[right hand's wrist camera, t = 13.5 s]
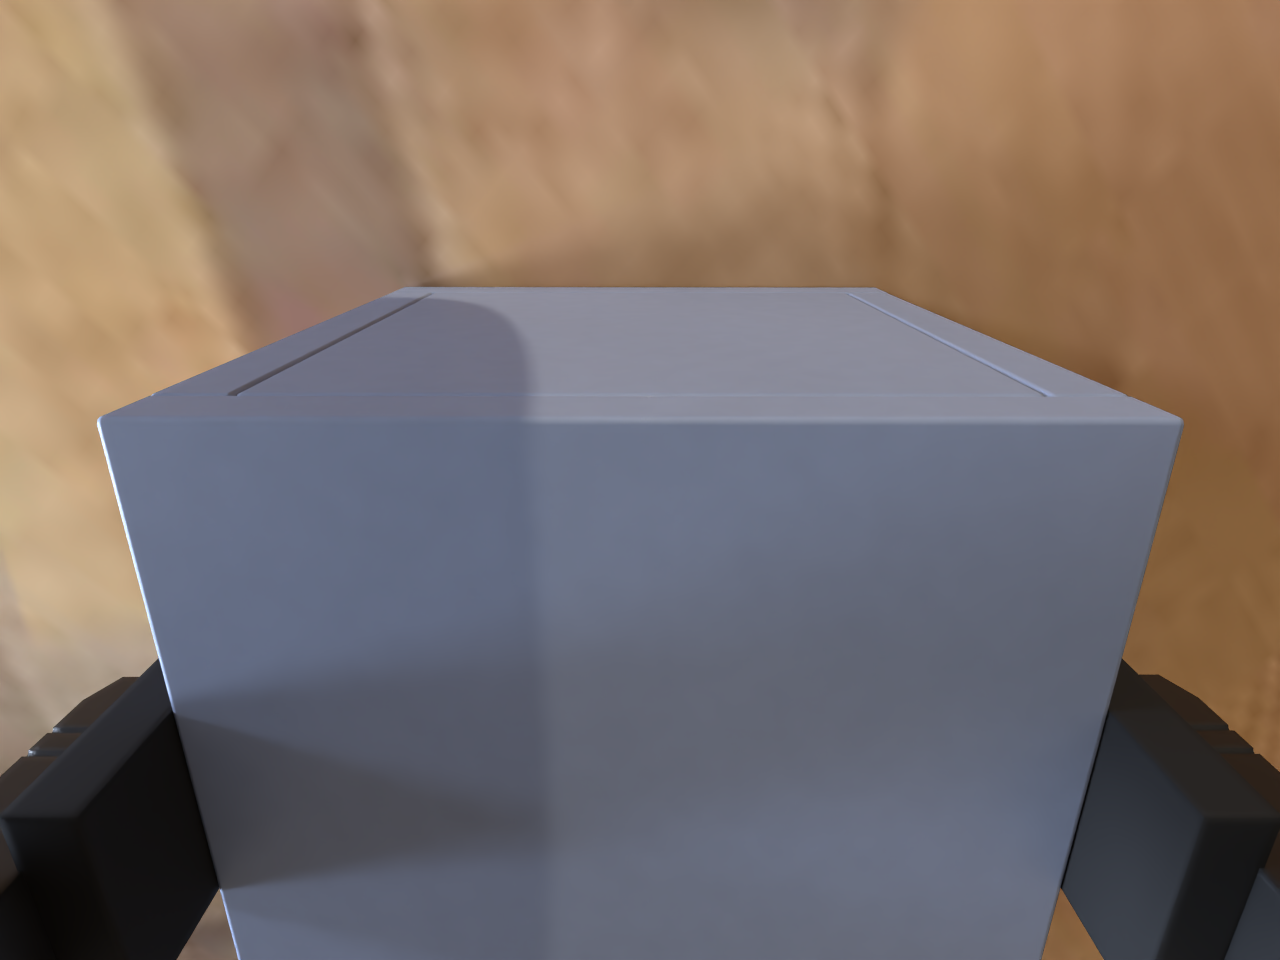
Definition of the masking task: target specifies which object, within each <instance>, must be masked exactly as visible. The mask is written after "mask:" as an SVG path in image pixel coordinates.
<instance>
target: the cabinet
mask: <svg viewBox="0 0 1280 960" xmlns="http://www.w3.org/2000/svg"><path fill="white" fill-rule="evenodd" d="M97 426H98V429H99V433H100V437H101V441H102V444H103V448H104V452H105V456H106V460H107V463H108V467H109V471H110V475H111V479H112V482H113V486H114V490H115V494H116V497H117V501H118V505H119V509H120V513H121V516H122V520H123V524H124V528H125V532H126V535H127V539H128V543H129V547H130V551H131V554H132V558H133V562H134V566H135V569H136V573H137V577H138V581H139V585H140V588H141V592H142V596H143V600H144V604H145V607H146V611H147V615H148V619H149V622H150V626H151V630H152V634H153V638H154V641H155V645H156V649H157V653H158V657H159V660H160V664H161V668H162V672H163V675H164V679H165V683H166V687H167V691H168V694H169V698H170V702H171V706H172V710H173V713H174V717H175V721H176V725H177V728H178V732H179V736H180V740H181V744H182V747H183V751H184V755H185V759H186V763H187V766H188V770H189V774H190V778H191V782H192V785H193V789H194V793H195V797H196V800H197V804H198V808H199V812H200V816H201V819H202V823H203V827H204V831H205V835H206V838H207V842H208V846H209V850H210V853H211V857H212V861H213V865H214V869H215V872H216V876H217V880H218V884H219V888H220V891H221V895H222V899H223V903H224V906H225V910H226V914H227V918H228V922H229V925H230V929H231V933H232V937H233V941H234V944H235V948H236V952H237V956H238V960H1041V958H1042V955H1043V951H1044V947H1045V944H1046V940H1047V936H1048V932H1049V929H1050V925H1051V921H1052V917H1053V914H1054V910H1055V906H1056V902H1057V899H1058V895H1059V891H1060V887H1061V884H1062V880H1063V876H1064V872H1065V869H1066V865H1067V861H1068V857H1069V854H1070V850H1071V846H1072V843H1073V839H1074V835H1075V831H1076V828H1077V824H1078V820H1079V816H1080V813H1081V809H1082V805H1083V801H1084V798H1085V794H1086V790H1087V786H1088V783H1089V779H1090V775H1091V771H1092V768H1093V764H1094V760H1095V756H1096V753H1097V749H1098V745H1099V741H1100V738H1101V734H1102V730H1103V727H1104V723H1105V719H1106V715H1107V712H1108V708H1109V704H1110V700H1111V697H1112V693H1113V689H1114V685H1115V682H1116V678H1117V674H1118V670H1119V667H1120V663H1121V659H1122V655H1123V652H1124V648H1125V644H1126V640H1127V637H1128V633H1129V629H1130V626H1131V622H1132V618H1133V614H1134V611H1135V607H1136V603H1137V599H1138V596H1139V592H1140V588H1141V584H1142V581H1143V577H1144V573H1145V569H1146V566H1147V562H1148V558H1149V554H1150V551H1151V547H1152V543H1153V539H1154V536H1155V532H1156V528H1157V525H1158V521H1159V517H1160V513H1161V510H1162V506H1163V502H1164V498H1165V495H1166V491H1167V487H1168V483H1169V480H1170V476H1171V472H1172V468H1173V465H1174V461H1175V457H1176V453H1177V450H1178V446H1179V442H1180V438H1181V435H1182V431H1183V427H1184V421H1183V419H1182V418H1180V417H1178V416H1175V415H1173V414H1171V413H1168V412H1166V411H1164V410H1161V409H1159V408H1157V407H1154V406H1152V405H1149V404H1147V403H1145V402H1142V401H1140V400H1138V399H1135V398H1133V397H1128V396H1127V395H1126V394H1123V393H1121V392H1119V391H1116V390H1114V389H1112V388H1109V387H1107V386H1105V385H1102V384H1100V383H1098V382H1095V381H1093V380H1090V379H1088V378H1086V377H1083V376H1081V375H1079V374H1076V373H1074V372H1072V371H1069V370H1067V369H1065V368H1062V367H1060V366H1057V365H1055V364H1053V363H1050V362H1048V361H1046V360H1043V359H1041V358H1039V357H1036V356H1034V355H1032V354H1029V353H1027V352H1024V351H1022V350H1020V349H1017V348H1015V347H1013V346H1010V345H1008V344H1006V343H1003V342H1001V341H999V340H996V339H994V338H991V337H989V336H987V335H984V334H982V333H980V332H977V331H975V330H973V329H970V328H968V327H966V326H963V325H961V324H958V323H956V322H954V321H951V320H949V319H947V318H944V317H942V316H940V315H937V314H935V313H933V312H930V311H928V310H925V309H923V308H921V307H918V306H916V305H914V304H911V303H909V302H907V301H904V300H902V299H900V298H897V297H895V296H892V295H890V294H888V293H886V292H884V291H882V290H879V289H877V288H759V287H404V288H402V289H399V290H397V291H395V292H393V293H390V294H388V295H385V296H383V297H381V298H378V299H376V300H374V301H371V302H369V303H367V304H364V305H362V306H359V307H357V308H355V309H352V310H350V311H348V312H345V313H343V314H341V315H338V316H336V317H333V318H331V319H329V320H326V321H324V322H322V323H319V324H317V325H315V326H312V327H310V328H307V329H305V330H303V331H300V332H298V333H296V334H293V335H291V336H289V337H286V338H284V339H281V340H279V341H277V342H274V343H272V344H270V345H267V346H265V347H263V348H260V349H258V350H255V351H253V352H251V353H248V354H246V355H244V356H241V357H239V358H237V359H234V360H232V361H229V362H227V363H225V364H222V365H220V366H218V367H215V368H213V369H211V370H208V371H206V372H203V373H201V374H199V375H196V376H194V377H192V378H189V379H187V380H185V381H182V382H180V383H177V384H175V385H173V386H170V387H168V388H166V389H163V390H161V391H159V392H156V393H154V394H152V396H148V397H146V398H143V399H141V400H139V401H136V402H134V403H132V404H129V405H127V406H125V407H122V408H120V409H118V410H115V411H113V412H110V413H108V414H106V415H103V416H101V417H99V419H98V422H97Z"/></svg>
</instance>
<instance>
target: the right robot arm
mask: <svg viewBox="0 0 1280 960" xmlns="http://www.w3.org/2000/svg"><path fill="white" fill-rule="evenodd" d="M28 752H29V753H28V756H27V757H21V758H20V759H19V760H18V761H17V762H16V763H14V764H13V765H12V766H11V767H10V768H9V769H8V770H7V771H6V772H5V773H4V774H3V775H2V776H0V960H176V959H177V958H178V956H179V954H180V953H181V951H182V949H183V948H184V946H185V944H186V943H187V941H188V939H189V938H190V936H191V934H192V933H193V931H194V929H195V928H196V926H197V924H198V923H199V921H200V919H201V918H202V916H203V914H204V913H205V911H206V909H207V908H208V906H209V904H210V903H211V901H212V899H213V898H214V896H215V894H216V893H217V891H218V889H219V884H218V880H217V876H216V872H215V869H214V865H213V861H212V857H211V853H210V850H209V846H208V842H207V838H206V835H205V831H204V827H203V823H202V819H201V816H200V812H199V808H198V804H197V800H196V797H195V793H194V789H193V785H192V782H191V778H190V774H189V770H188V766H187V763H186V759H185V755H184V751H183V747H182V744H181V740H180V736H179V732H178V728H177V725H176V721H175V717H174V713H173V710H172V706H171V702H170V698H169V694H168V691H167V687H166V683H165V679H164V675H163V672H162V668H161V664H160V660H159V658H158V659H157V660H156V661H155V662H154V663H153V664H152V665H151V666H150V667H149V668H148V669H147V670H146V671H145V672H144V673H143V674H142V675H141V676H140V677H122V678H120V679H119V680H117V681H115V682H114V683H112V684H110V685H108V686H107V687H105V688H103V689H102V690H100V691H98V692H96V693H95V694H93V695H91V696H90V697H88V698H86V699H84V700H83V701H82V702H81V703H79V704H78V705H77V706H76V707H75V708H74V709H73V710H72V711H71V712H70V713H69V714H68V715H66V716H65V717H64V718H63V719H62V720H61V721H60V722H59V723H58V724H57V725H56V726H55V727H53V732H52V733H47V734H46V735H45V736H44V737H43V738H42V739H40V740H39V741H38V742H37V743H36V744H35V745H34V746H33V747H32V748H31V749H30V750H29V751H28ZM1061 889H1062V890H1063V892H1064V894H1065V895H1066V897H1067V899H1068V900H1069V902H1070V904H1071V905H1072V907H1073V909H1074V910H1075V912H1076V914H1077V915H1078V917H1079V919H1080V920H1081V922H1082V924H1083V925H1084V927H1085V929H1086V930H1087V932H1088V934H1089V935H1090V937H1091V939H1092V940H1093V942H1094V944H1095V945H1096V947H1097V949H1098V950H1099V952H1100V954H1101V955H1102V957H1103V959H1104V960H1280V772H1279V771H1278V770H1277V769H1275V768H1274V767H1273V766H1272V765H1271V764H1270V763H1269V762H1268V761H1267V760H1266V759H1265V758H1263V757H1262V756H1261V755H1260V754H1254V752H1253V747H1252V746H1250V745H1249V744H1248V743H1247V742H1246V741H1245V740H1244V739H1243V738H1242V737H1241V736H1240V735H1238V734H1237V733H1236V732H1235V731H1230V730H1229V729H1228V724H1226V723H1225V722H1224V721H1223V720H1222V719H1221V718H1220V717H1219V716H1218V715H1217V714H1216V713H1214V712H1213V711H1212V710H1211V709H1210V708H1209V707H1208V706H1207V705H1206V704H1205V703H1204V702H1202V701H1201V700H1200V699H1199V698H1198V697H1196V696H1194V695H1193V694H1191V693H1189V692H1187V691H1186V690H1184V689H1182V688H1181V687H1179V686H1177V685H1175V684H1174V683H1172V682H1170V681H1168V680H1167V679H1165V678H1163V677H1162V676H1160V675H1138V674H1137V673H1136V672H1135V671H1134V670H1133V669H1132V668H1131V667H1130V666H1129V665H1128V664H1127V663H1126V662H1125V661H1124V660H1123V659H1121V663H1120V667H1119V670H1118V674H1117V678H1116V682H1115V685H1114V689H1113V693H1112V697H1111V700H1110V704H1109V708H1108V712H1107V715H1106V719H1105V723H1104V727H1103V730H1102V734H1101V738H1100V741H1099V745H1098V749H1097V753H1096V756H1095V760H1094V764H1093V768H1092V771H1091V775H1090V779H1089V783H1088V786H1087V790H1086V794H1085V798H1084V801H1083V805H1082V809H1081V813H1080V816H1079V820H1078V824H1077V828H1076V831H1075V835H1074V839H1073V843H1072V846H1071V850H1070V854H1069V857H1068V861H1067V865H1066V869H1065V872H1064V876H1063V880H1062V884H1061Z"/></svg>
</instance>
